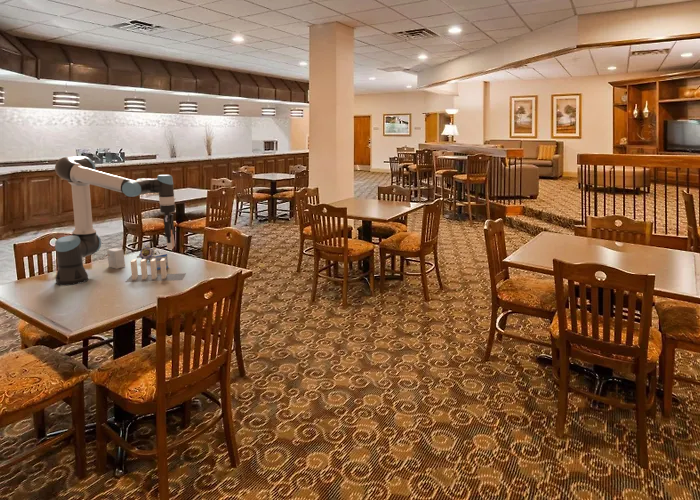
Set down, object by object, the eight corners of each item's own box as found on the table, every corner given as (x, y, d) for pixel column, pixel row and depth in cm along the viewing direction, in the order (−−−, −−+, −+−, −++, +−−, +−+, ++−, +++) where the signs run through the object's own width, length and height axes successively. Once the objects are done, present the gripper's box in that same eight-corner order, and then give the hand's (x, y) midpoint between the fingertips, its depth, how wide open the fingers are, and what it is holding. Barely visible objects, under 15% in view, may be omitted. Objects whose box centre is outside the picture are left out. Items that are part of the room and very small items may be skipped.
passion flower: (147, 271, 307) (133, 257, 303) (151, 263, 317) (137, 249, 312) (161, 261, 306) (147, 247, 301) (165, 254, 316) (151, 239, 311)
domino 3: (151, 279, 271) (150, 261, 269) (153, 276, 276) (152, 258, 274) (155, 278, 272) (153, 260, 269) (157, 276, 277) (155, 258, 274)
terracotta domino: (168, 249, 269) (166, 231, 267) (170, 247, 274) (168, 229, 272) (171, 249, 269) (170, 231, 267) (173, 247, 274) (172, 229, 272)
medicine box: (156, 271, 289) (155, 256, 287) (152, 269, 291) (150, 255, 289) (168, 268, 295) (167, 253, 293) (164, 267, 298) (162, 252, 296)
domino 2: (142, 279, 271) (140, 261, 268) (144, 276, 276) (142, 259, 273) (145, 279, 271) (143, 261, 269) (147, 276, 276) (146, 258, 274)
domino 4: (161, 278, 272) (160, 260, 270) (163, 276, 277) (161, 258, 275) (165, 278, 272) (163, 260, 270) (166, 276, 277) (165, 258, 275)
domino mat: (125, 282, 266) (125, 282, 266) (131, 276, 278) (131, 275, 278) (182, 280, 270) (182, 280, 270) (186, 274, 283) (186, 273, 283)
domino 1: (132, 279, 270) (130, 261, 268) (134, 277, 275) (132, 259, 272) (135, 279, 270) (134, 261, 268) (138, 277, 275) (136, 259, 273)
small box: (125, 266, 297) (123, 249, 295) (116, 269, 293) (114, 251, 290) (117, 264, 301) (115, 247, 299) (108, 267, 297) (106, 249, 294)
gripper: (171, 206, 258) (175, 251, 263) (177, 201, 276) (181, 243, 281) (156, 207, 257) (160, 251, 262) (163, 202, 274) (166, 244, 280)
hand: (170, 247), depth 272 cm, fingers closed on terracotta domino, 5 cm apart
